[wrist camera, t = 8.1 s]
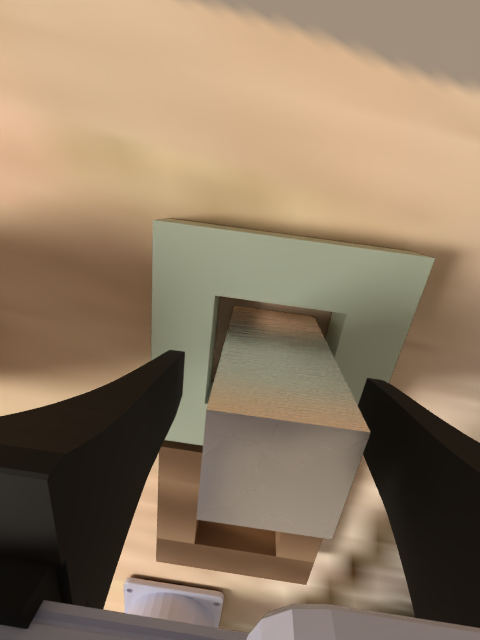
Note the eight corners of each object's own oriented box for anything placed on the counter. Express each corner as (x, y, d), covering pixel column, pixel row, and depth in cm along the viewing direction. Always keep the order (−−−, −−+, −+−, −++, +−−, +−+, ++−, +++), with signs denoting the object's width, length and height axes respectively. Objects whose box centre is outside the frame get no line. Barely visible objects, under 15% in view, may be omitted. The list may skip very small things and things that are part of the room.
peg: (298, 383, 16) (331, 539, 8) (226, 373, 16) (196, 519, 8) (313, 316, 14) (370, 432, 7) (234, 305, 14) (206, 409, 7)
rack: (346, 439, 17) (357, 468, 15) (162, 412, 17) (150, 437, 15) (410, 251, 13) (435, 258, 11) (168, 218, 13) (152, 220, 11)
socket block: (302, 551, 21) (306, 584, 19) (165, 530, 21) (156, 561, 19) (336, 445, 17) (345, 474, 15) (170, 420, 17) (159, 446, 15)
